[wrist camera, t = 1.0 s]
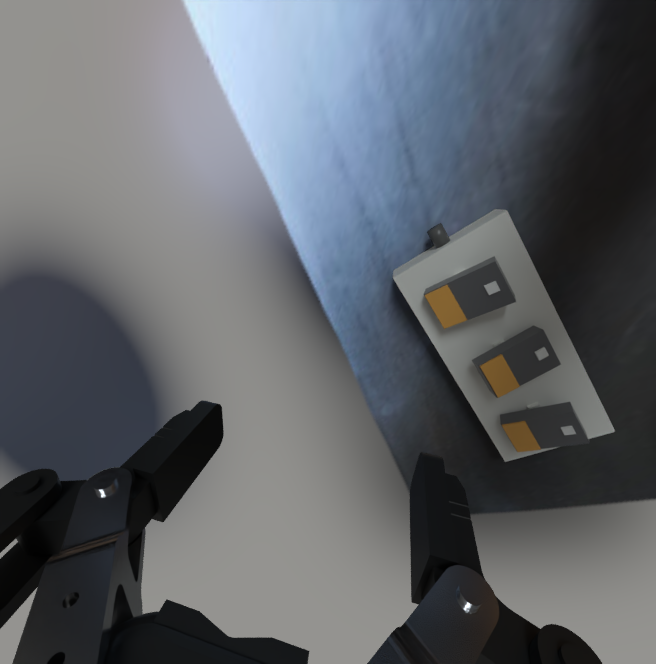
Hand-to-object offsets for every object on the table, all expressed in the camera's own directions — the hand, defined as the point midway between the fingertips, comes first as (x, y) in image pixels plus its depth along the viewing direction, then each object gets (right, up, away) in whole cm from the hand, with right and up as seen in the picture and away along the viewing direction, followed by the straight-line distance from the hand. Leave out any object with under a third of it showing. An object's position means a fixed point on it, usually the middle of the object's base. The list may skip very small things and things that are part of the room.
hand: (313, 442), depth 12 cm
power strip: (+21, +3, +25) cm, 33 cm away
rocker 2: (+20, +2, +22) cm, 30 cm away
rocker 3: (+25, -6, +24) cm, 35 cm away
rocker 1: (+15, +9, +20) cm, 26 cm away
